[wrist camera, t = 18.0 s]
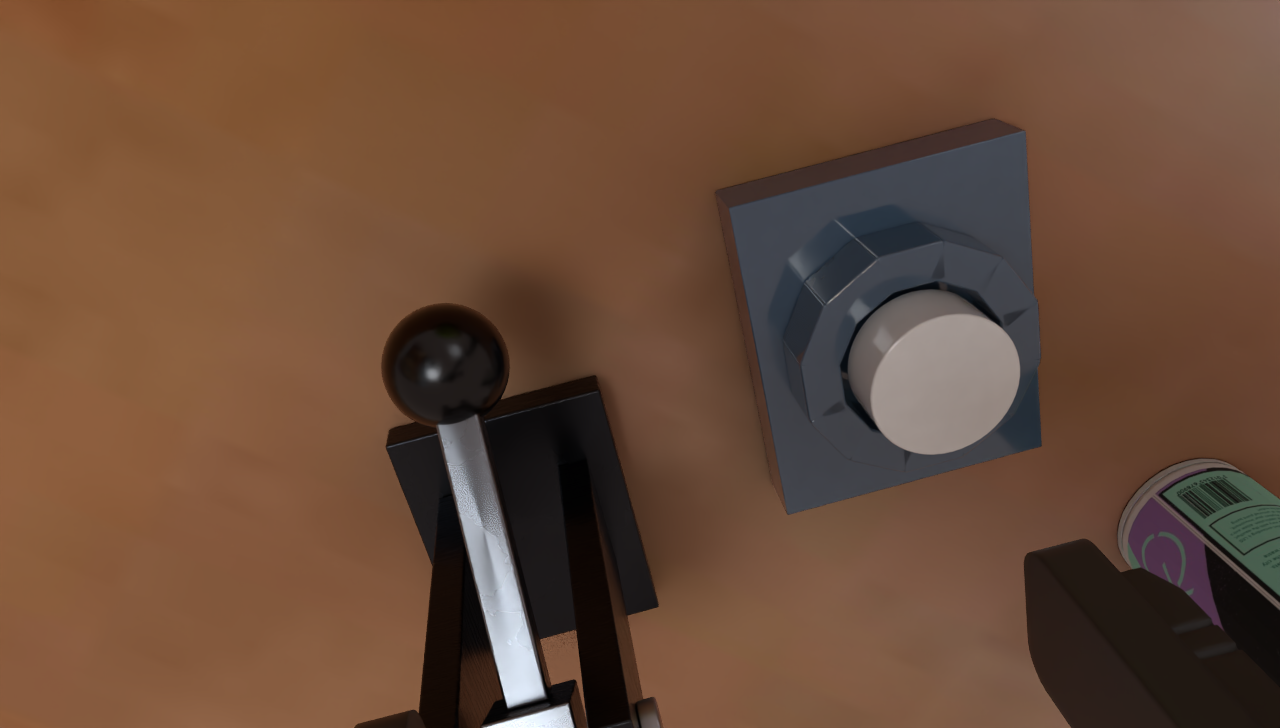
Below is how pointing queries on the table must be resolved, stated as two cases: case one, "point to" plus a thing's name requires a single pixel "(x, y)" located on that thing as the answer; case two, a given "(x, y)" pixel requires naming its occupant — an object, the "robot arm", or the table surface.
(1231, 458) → the table surface
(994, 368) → the flush button
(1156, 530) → the spray can
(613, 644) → the flush bracket
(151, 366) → the table surface
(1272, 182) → the table surface
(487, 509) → the flush lever
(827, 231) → the flush plate
